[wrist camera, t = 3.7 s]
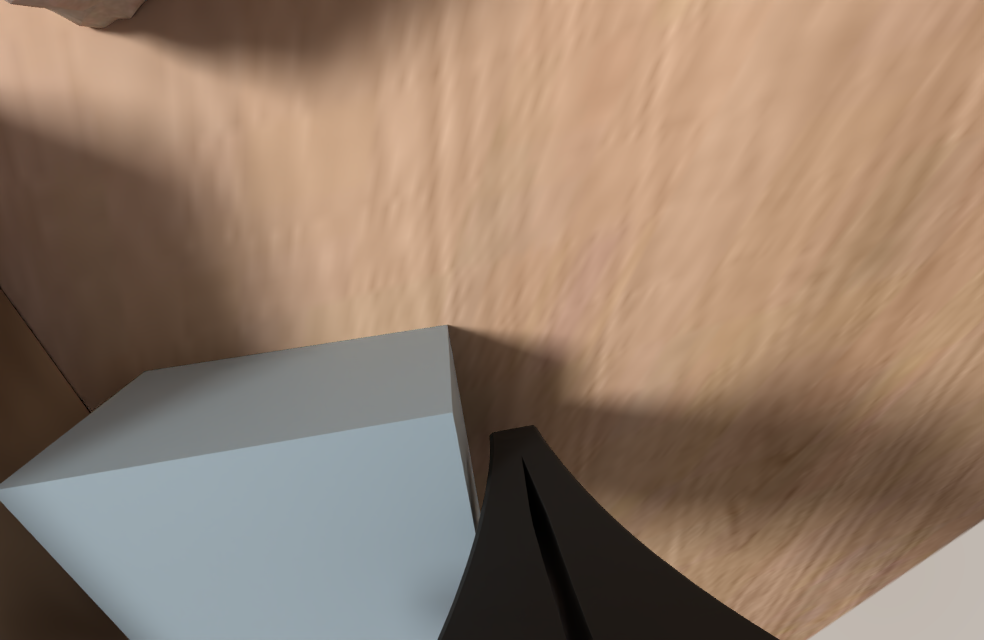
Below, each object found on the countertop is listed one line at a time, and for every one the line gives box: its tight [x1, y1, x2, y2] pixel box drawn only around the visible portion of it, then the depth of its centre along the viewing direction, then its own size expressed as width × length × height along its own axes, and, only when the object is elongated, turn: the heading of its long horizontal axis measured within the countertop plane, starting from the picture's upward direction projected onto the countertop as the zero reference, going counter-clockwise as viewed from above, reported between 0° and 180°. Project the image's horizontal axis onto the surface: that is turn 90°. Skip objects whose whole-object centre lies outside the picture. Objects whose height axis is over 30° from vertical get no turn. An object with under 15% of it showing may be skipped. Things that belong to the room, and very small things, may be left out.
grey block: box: [0, 325, 480, 640], centre depth 10 cm, size 8×8×4 cm
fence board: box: [0, 289, 130, 640], centre depth 9 cm, size 24×2×6 cm, turn 7°
